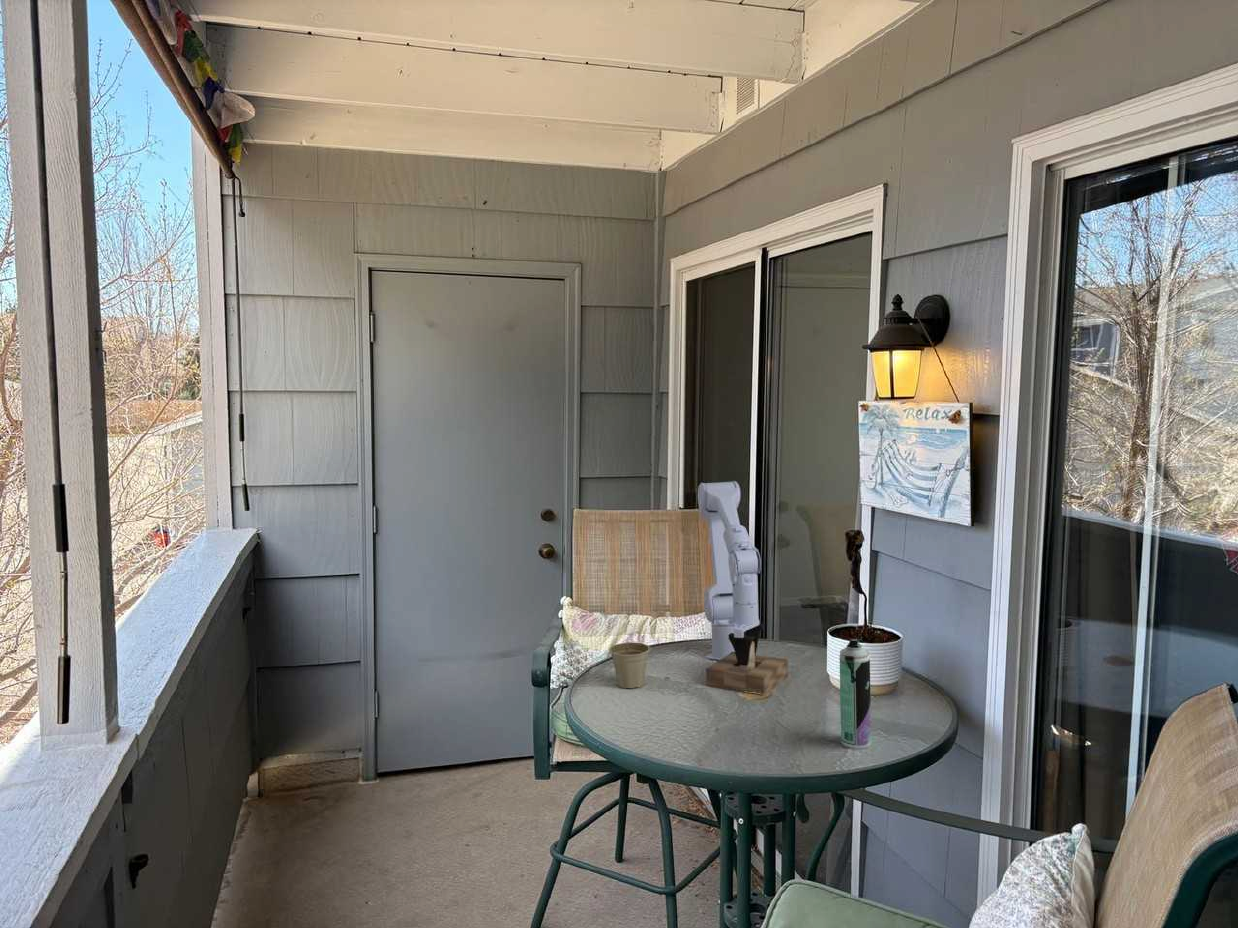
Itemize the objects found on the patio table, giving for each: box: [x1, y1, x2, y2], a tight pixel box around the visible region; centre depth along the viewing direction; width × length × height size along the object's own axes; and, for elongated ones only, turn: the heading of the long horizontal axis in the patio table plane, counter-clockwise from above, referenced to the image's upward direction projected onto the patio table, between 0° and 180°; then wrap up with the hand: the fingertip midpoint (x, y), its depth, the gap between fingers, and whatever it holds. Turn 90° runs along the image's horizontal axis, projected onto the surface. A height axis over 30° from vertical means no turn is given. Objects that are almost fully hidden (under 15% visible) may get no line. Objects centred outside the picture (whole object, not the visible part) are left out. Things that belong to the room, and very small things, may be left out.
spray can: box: [839, 638, 872, 750], centre depth 158 cm, size 6×6×20 cm
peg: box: [739, 641, 755, 669], centre depth 194 cm, size 4×4×8 cm
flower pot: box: [608, 641, 651, 689], centre depth 195 cm, size 9×9×9 cm
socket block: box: [705, 652, 789, 694], centre depth 195 cm, size 14×14×4 cm
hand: (747, 659), depth 194 cm, fingers open, 7 cm apart
